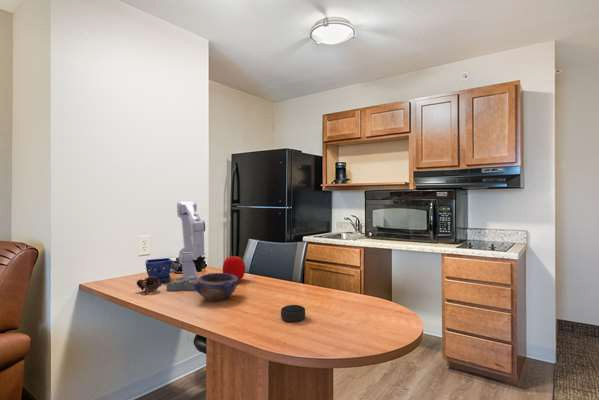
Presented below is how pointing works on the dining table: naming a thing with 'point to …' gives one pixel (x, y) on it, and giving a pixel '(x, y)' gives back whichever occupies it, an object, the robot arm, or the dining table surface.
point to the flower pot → (159, 269)
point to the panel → (180, 286)
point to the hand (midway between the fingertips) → (199, 271)
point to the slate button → (192, 279)
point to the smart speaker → (293, 313)
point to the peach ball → (179, 279)
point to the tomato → (234, 266)
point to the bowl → (216, 285)
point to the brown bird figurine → (148, 284)
